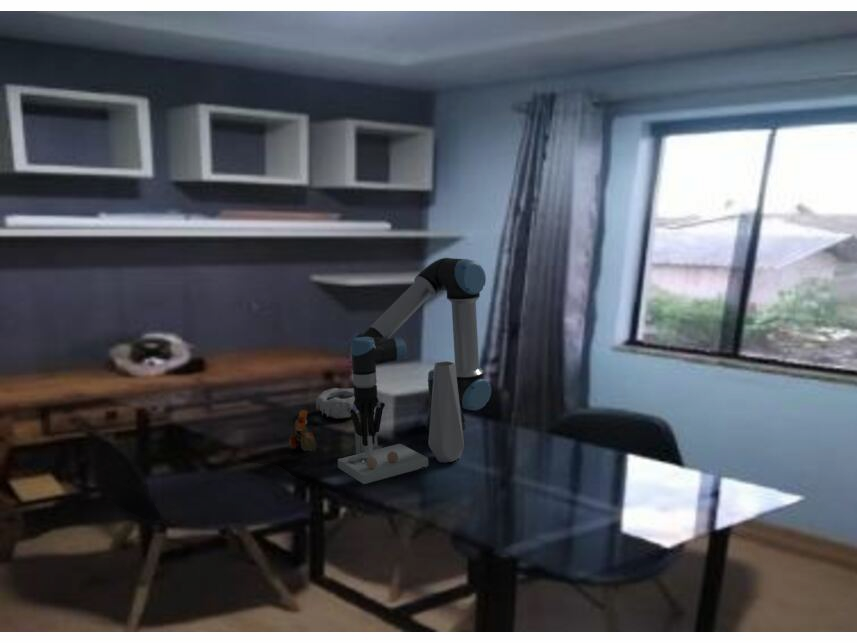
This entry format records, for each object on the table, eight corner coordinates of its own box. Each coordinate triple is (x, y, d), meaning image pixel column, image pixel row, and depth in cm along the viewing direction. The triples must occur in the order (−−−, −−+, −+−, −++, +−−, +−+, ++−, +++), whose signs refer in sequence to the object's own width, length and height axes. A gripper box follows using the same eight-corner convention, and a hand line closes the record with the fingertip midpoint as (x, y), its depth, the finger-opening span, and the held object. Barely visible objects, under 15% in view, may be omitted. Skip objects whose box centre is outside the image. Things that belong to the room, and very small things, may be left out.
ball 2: (394, 459, 255) (394, 449, 254) (400, 462, 252) (399, 452, 252) (385, 461, 253) (384, 451, 253) (390, 464, 250) (390, 454, 250)
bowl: (365, 423, 304) (364, 398, 302) (313, 425, 305) (311, 400, 303) (370, 407, 325) (368, 384, 323) (321, 409, 325) (319, 386, 323)
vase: (455, 468, 253) (451, 369, 247) (425, 462, 259) (420, 366, 253) (473, 456, 263) (470, 361, 257) (443, 451, 269) (440, 358, 264)
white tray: (400, 451, 271) (400, 443, 270) (428, 466, 256) (428, 457, 255) (338, 467, 258) (337, 459, 258) (363, 484, 243) (363, 475, 243)
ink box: (362, 457, 267) (359, 420, 264) (355, 454, 270) (353, 417, 267) (378, 452, 271) (376, 415, 269) (371, 449, 274) (369, 413, 272)
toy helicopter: (310, 442, 284) (307, 406, 282) (327, 460, 266) (324, 421, 263) (288, 446, 281) (285, 410, 279) (304, 464, 263) (301, 425, 260)
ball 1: (374, 465, 250) (373, 455, 250) (379, 468, 248) (378, 458, 247) (364, 467, 249) (363, 457, 248) (369, 471, 246) (369, 460, 245)
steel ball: (363, 457, 258) (353, 458, 256) (368, 460, 255) (358, 461, 253) (362, 467, 258) (353, 468, 256) (367, 470, 255) (358, 471, 253)
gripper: (377, 379, 259) (380, 446, 263) (341, 386, 252) (346, 455, 257) (388, 383, 253) (391, 452, 257) (352, 390, 246) (356, 461, 250)
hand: (369, 454), depth 257 cm, fingers closed
